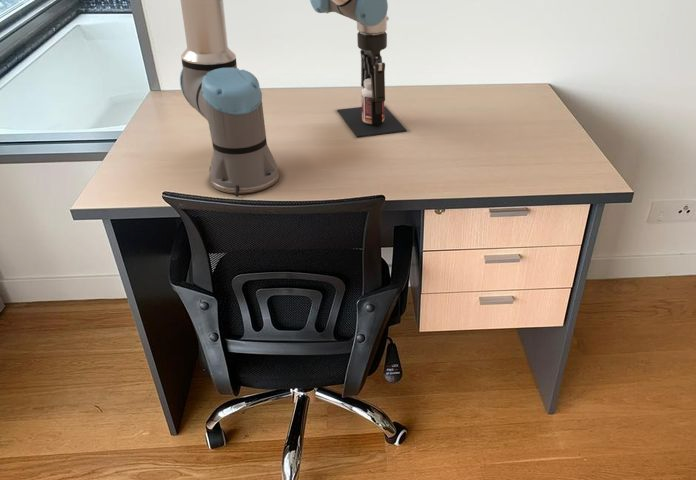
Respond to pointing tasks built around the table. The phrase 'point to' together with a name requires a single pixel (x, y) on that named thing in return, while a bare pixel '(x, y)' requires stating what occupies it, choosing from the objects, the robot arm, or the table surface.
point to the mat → (363, 129)
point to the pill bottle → (368, 102)
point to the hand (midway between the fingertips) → (373, 119)
